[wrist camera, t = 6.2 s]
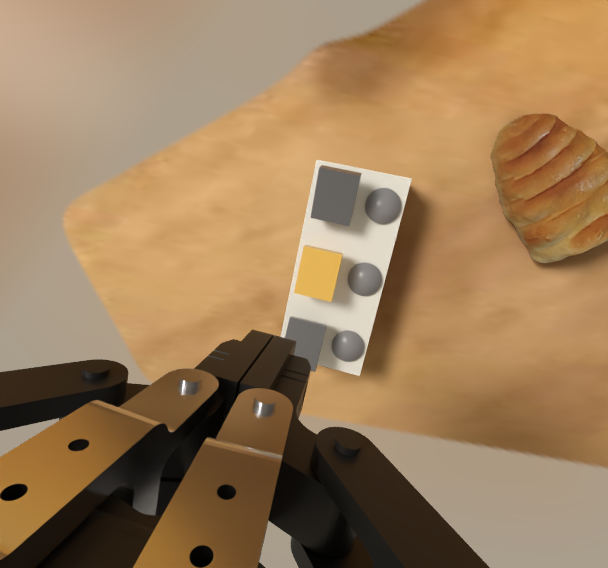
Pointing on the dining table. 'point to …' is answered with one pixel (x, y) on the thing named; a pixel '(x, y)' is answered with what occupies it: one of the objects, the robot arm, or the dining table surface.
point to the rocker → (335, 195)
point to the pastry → (552, 186)
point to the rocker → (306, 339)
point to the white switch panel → (351, 266)
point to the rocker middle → (318, 273)
